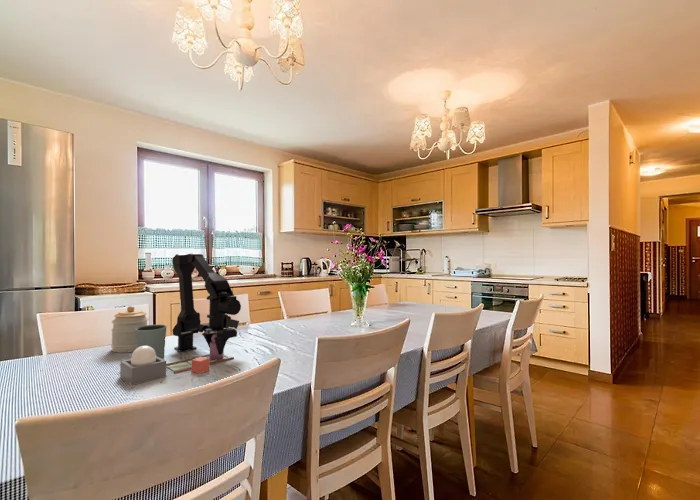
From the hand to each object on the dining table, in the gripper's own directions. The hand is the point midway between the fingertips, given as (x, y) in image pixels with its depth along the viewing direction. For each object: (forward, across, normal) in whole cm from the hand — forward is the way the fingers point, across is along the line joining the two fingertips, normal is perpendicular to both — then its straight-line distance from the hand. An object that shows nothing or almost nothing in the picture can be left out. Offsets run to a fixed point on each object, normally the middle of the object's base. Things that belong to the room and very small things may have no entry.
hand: (216, 352), depth 134 cm
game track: (+2, 0, +7) cm, 7 cm away
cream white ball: (-1, -1, +26) cm, 26 cm away
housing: (+2, -1, +26) cm, 26 cm away
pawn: (+2, 0, 0) cm, 2 cm away
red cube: (+2, -9, +11) cm, 14 cm away
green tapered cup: (+2, +17, +17) cm, 24 cm away
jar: (+2, +38, +17) cm, 42 cm away
